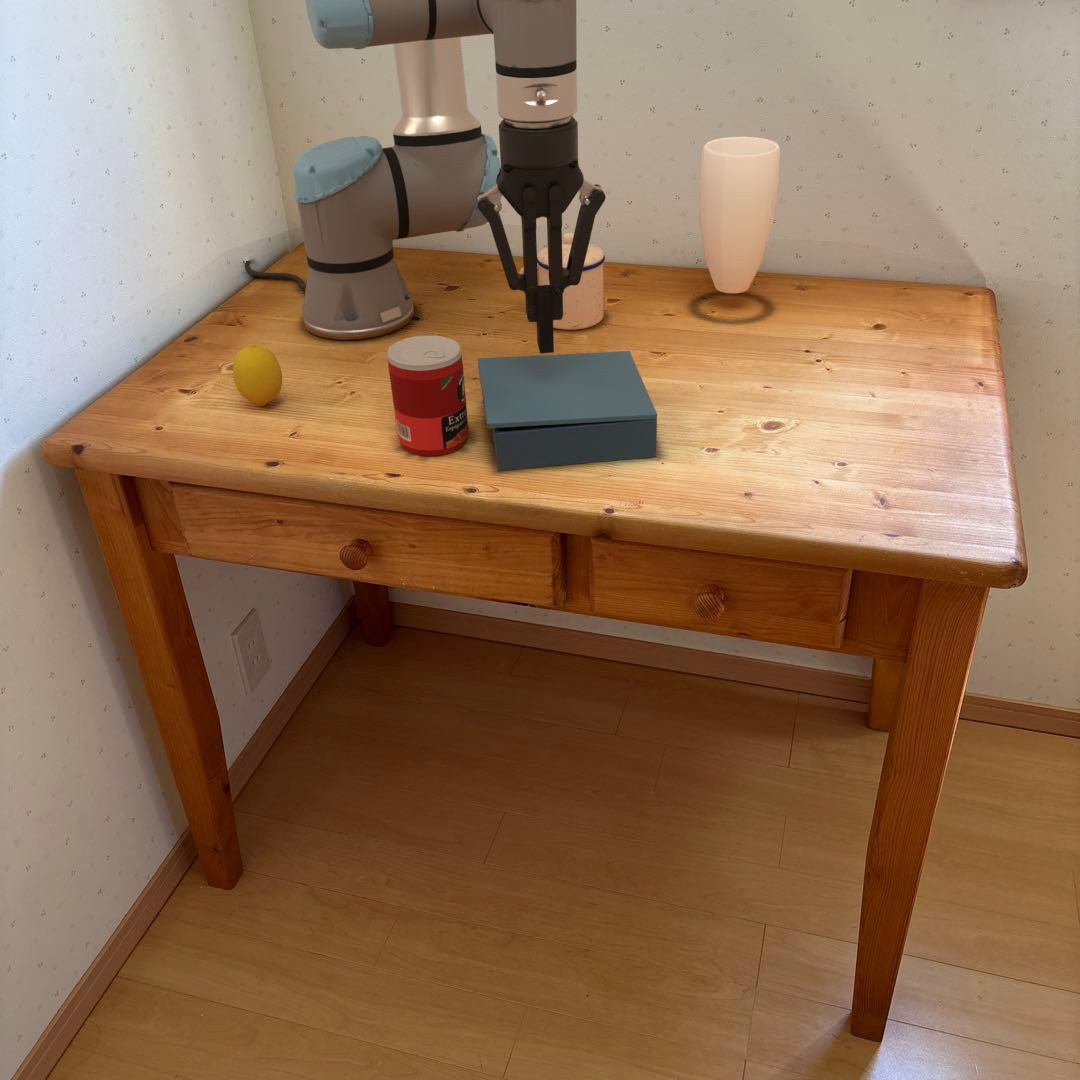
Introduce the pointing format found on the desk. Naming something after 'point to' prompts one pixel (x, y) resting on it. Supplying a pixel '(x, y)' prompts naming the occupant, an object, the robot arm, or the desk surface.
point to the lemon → (257, 374)
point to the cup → (737, 207)
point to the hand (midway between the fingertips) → (545, 347)
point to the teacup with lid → (577, 287)
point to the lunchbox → (573, 443)
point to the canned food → (428, 394)
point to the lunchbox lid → (563, 389)
